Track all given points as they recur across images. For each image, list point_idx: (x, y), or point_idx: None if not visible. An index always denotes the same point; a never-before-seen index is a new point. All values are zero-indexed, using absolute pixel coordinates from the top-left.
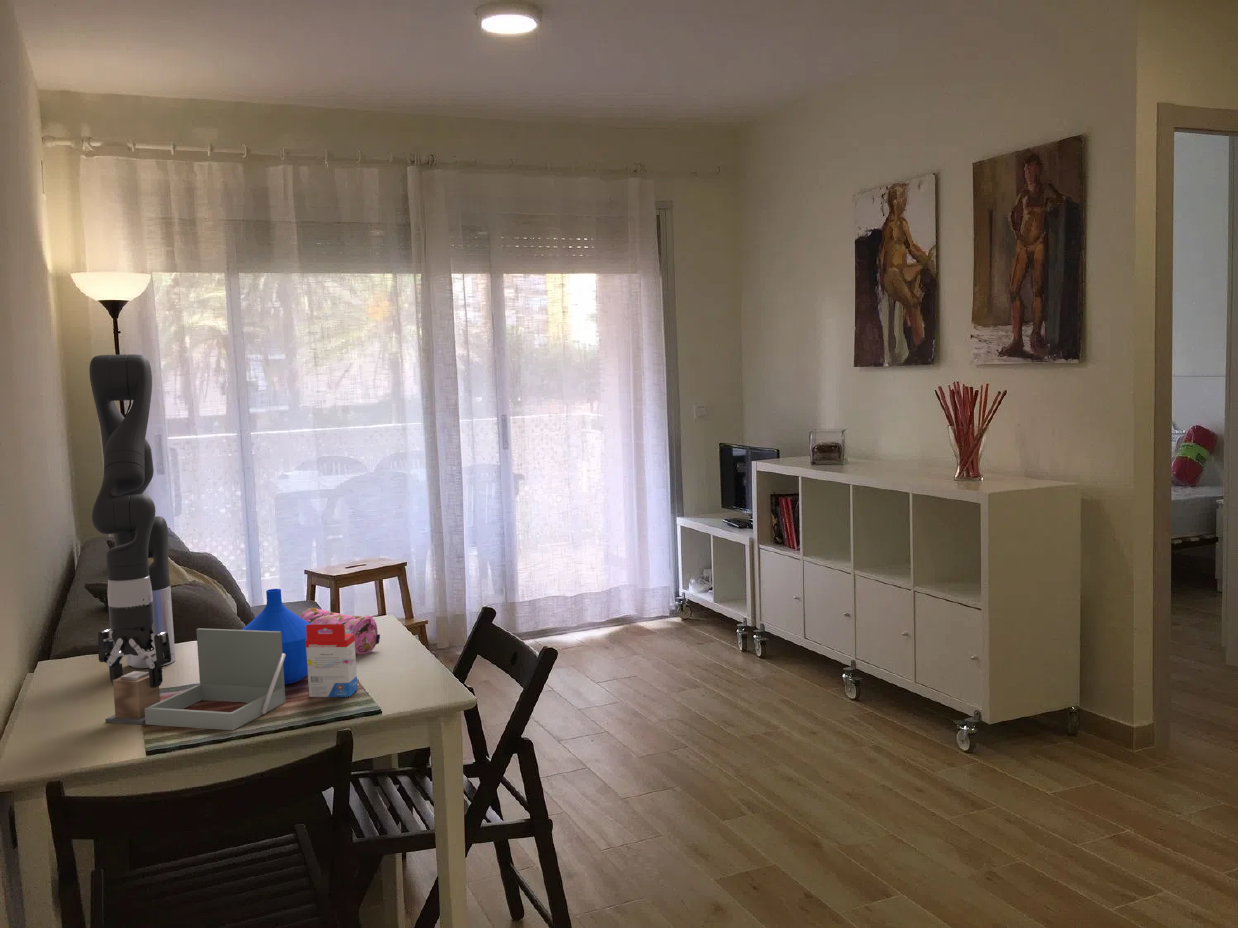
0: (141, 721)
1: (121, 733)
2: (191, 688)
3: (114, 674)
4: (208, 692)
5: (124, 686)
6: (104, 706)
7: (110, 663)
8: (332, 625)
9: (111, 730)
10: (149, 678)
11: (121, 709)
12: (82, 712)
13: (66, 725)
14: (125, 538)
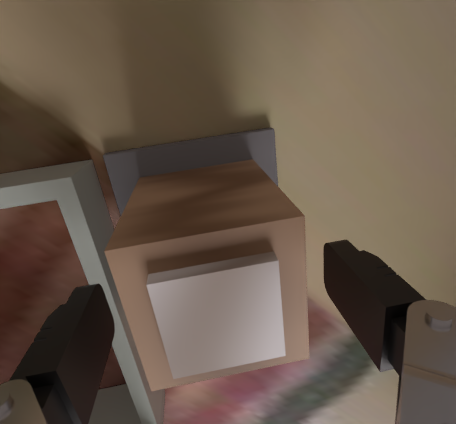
0: (103, 155)
1: (79, 36)
2: (139, 396)
3: (353, 274)
4: (118, 407)
5: (213, 217)
6: (398, 243)
7: (426, 317)
8: None
9: (160, 55)
10: (80, 315)
11: (227, 172)
12: (431, 177)
13: (393, 45)
14: None
